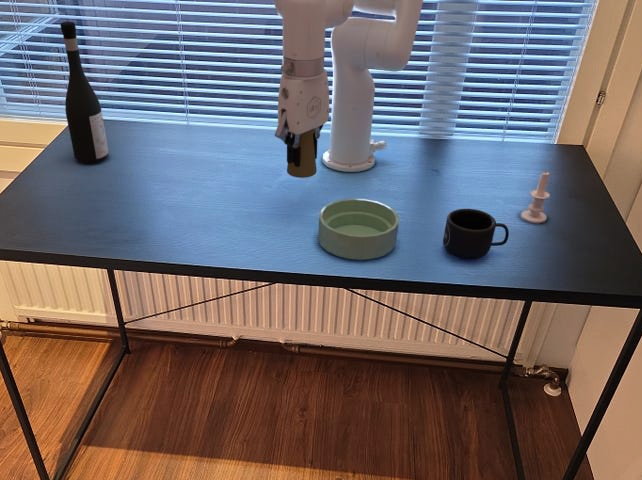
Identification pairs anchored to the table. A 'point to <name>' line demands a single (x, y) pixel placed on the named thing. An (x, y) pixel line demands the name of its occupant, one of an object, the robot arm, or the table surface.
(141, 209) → the table surface
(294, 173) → the brown rounded tall piece
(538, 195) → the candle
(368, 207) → the bowl
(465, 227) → the mug
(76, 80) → the wine bottle
